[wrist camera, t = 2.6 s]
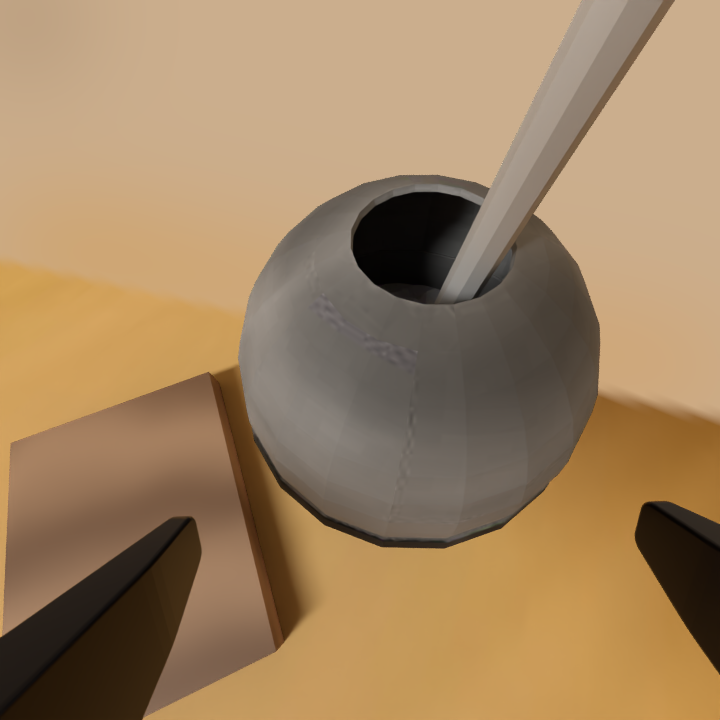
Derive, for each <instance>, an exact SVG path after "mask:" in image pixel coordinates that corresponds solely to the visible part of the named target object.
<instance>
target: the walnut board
mask: <svg viewBox="0 0 720 720" xmlns="http://www.w3.org/2000/svg"><path fill="white" fill-rule="evenodd" d="M175 516H192V517H193V518H194V519H195V521H196V524H197V528H198V533H199V538H200V542H201V547H202V555H201V560H200V564H199V567H198V570H197V573H196V576H195V579H194V583H193V586H192V589H191V592H190V595H189V598H188V601H187V604H186V608H185V611H184V614H183V617H182V620H181V623H180V626H179V630H178V633H177V635H176V638H175V641H174V644H173V647H172V649H171V652H170V654H169V657H168V659H167V662H166V664H165V667H164V669H163V671H162V674H161V676H160V679H159V681H158V683H157V686H156V688H155V690H154V693H153V695H152V698H151V700H150V702H149V705H148V707H147V710H146V712H145V714H144V717H145V716H147V715H149V714H151V713H153V712H155V711H157V710H159V709H161V708H163V707H165V706H167V705H169V704H171V703H173V702H175V701H177V700H179V699H181V698H183V697H185V696H187V695H189V694H191V693H193V692H196V691H198V690H200V689H202V688H204V687H206V686H208V685H210V684H212V683H214V682H216V681H218V680H220V679H222V678H224V677H226V676H228V675H230V674H232V673H234V672H236V671H238V670H240V669H242V668H244V667H246V666H248V665H250V664H252V663H254V662H256V661H258V660H260V659H262V658H264V657H266V656H268V655H270V654H272V653H274V652H276V651H277V650H278V649H279V648H280V646H281V645H282V644H283V643H284V639H283V635H282V631H281V627H280V623H279V619H278V615H277V611H276V607H275V603H274V599H273V595H272V591H271V587H270V583H269V579H268V575H267V571H266V567H265V564H264V560H263V556H262V552H261V548H260V544H259V540H258V536H257V532H256V528H255V524H254V520H253V516H252V512H251V508H250V504H249V500H248V496H247V492H246V488H245V484H244V480H243V476H242V472H241V468H240V464H239V460H238V456H237V452H236V448H235V444H234V440H233V437H232V433H231V429H230V425H229V421H228V417H227V413H226V409H225V405H224V401H223V397H222V393H221V389H220V385H219V382H218V381H217V380H216V379H215V378H214V377H213V376H212V375H211V374H210V373H209V372H207V373H204V374H202V375H199V376H196V377H193V378H190V379H188V380H185V381H182V382H179V383H177V384H174V385H171V386H168V387H165V388H163V389H160V390H157V391H154V392H152V393H149V394H146V395H143V396H140V397H138V398H135V399H132V400H129V401H126V402H124V403H121V404H118V405H115V406H113V407H110V408H107V409H104V410H101V411H99V412H96V413H93V414H90V415H88V416H85V417H82V418H79V419H76V420H74V421H71V422H68V423H65V424H63V425H60V426H57V427H54V428H51V429H49V430H46V431H43V432H40V433H38V434H35V435H32V436H29V437H26V438H24V439H21V440H18V441H15V442H13V443H11V449H10V472H9V495H8V518H7V542H6V565H5V588H4V611H3V634H2V636H3V635H5V634H6V633H7V632H9V631H10V630H12V629H13V628H14V627H16V626H17V625H19V624H20V623H22V622H23V621H24V620H26V619H27V618H29V617H30V616H32V615H33V614H34V613H36V612H37V611H39V610H40V609H42V608H43V607H44V606H46V605H47V604H49V603H50V602H51V601H53V600H54V599H56V598H57V597H59V596H60V595H61V594H63V593H64V592H66V591H67V590H69V589H70V588H71V587H73V586H74V585H76V584H77V583H78V582H80V581H81V580H83V579H84V578H86V577H87V576H88V575H90V574H91V573H93V572H94V571H95V570H97V569H98V568H100V567H101V566H103V565H104V564H105V563H107V562H108V561H110V560H111V559H113V558H114V557H115V556H117V555H118V554H120V553H121V552H122V551H124V550H125V549H127V548H128V547H130V546H131V545H132V544H134V543H135V542H137V541H138V540H140V539H141V538H142V537H144V536H145V535H147V534H148V533H149V532H151V531H152V530H154V529H155V528H157V527H158V526H159V525H161V524H162V523H164V522H165V521H166V520H168V519H170V518H171V517H175Z"/></svg>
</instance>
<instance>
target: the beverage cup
mask: <svg viewBox="0 0 720 720" xmlns="http://www.w3.org/2000/svg"><path fill="white" fill-rule="evenodd" d="M674 1H675V0H582V1H581V3H580V5H579V7H578V9H577V11H576V13H575V15H574V17H573V20H572V22H571V24H570V26H569V28H568V30H567V32H566V34H565V36H564V38H563V40H562V42H561V44H560V46H559V48H558V51H557V52H556V54H555V56H554V58H553V61H552V62H551V65H550V67H549V69H548V71H547V73H546V75H545V77H544V79H543V81H542V83H541V85H540V87H539V89H538V91H537V93H536V95H535V97H534V100H533V101H532V104H531V106H530V108H529V110H528V112H527V114H526V116H525V118H524V120H523V122H522V124H521V126H520V128H519V130H518V132H517V134H516V136H515V138H514V140H513V142H512V145H511V146H510V149H509V151H508V153H507V155H506V157H505V159H504V161H503V163H502V165H501V167H500V169H499V171H498V173H497V175H496V177H495V179H494V181H493V183H492V186H491V188H487V187H485V186H483V185H480V184H478V183H476V182H471V181H466V180H460V179H455V178H450V177H445V176H440V175H399V176H395V177H390V178H386V179H382V180H377V181H373V182H368V183H364V184H361V185H359V186H357V187H355V188H353V189H351V190H349V191H347V192H345V193H343V194H341V195H339V196H337V197H335V198H333V199H331V200H329V201H327V202H325V203H324V204H322V205H320V206H318V207H317V208H316V209H315V210H314V211H313V212H311V213H310V214H309V215H308V216H307V217H306V218H305V219H303V220H302V221H301V222H300V223H299V224H298V225H296V226H295V227H294V228H293V229H292V230H291V231H290V232H289V233H288V234H287V235H286V236H285V237H284V239H282V241H281V242H280V243H279V244H278V246H277V247H276V249H275V250H274V252H273V254H272V255H271V257H270V259H269V260H268V262H267V264H266V265H265V267H264V269H263V270H262V272H261V274H260V275H259V277H258V279H257V280H256V282H255V284H254V287H253V289H252V292H251V294H250V296H249V300H248V305H247V310H246V315H245V320H244V325H243V330H242V335H241V340H240V347H239V356H238V360H239V366H240V372H241V378H242V384H243V390H244V396H245V403H246V409H247V413H248V418H249V422H250V424H251V426H252V431H253V437H254V441H255V443H256V445H257V446H258V448H259V450H260V452H261V454H262V455H263V457H264V459H265V461H266V462H267V464H268V466H269V468H270V470H271V471H272V473H273V475H274V477H275V478H276V480H277V482H278V484H279V485H280V487H281V488H282V489H283V490H284V491H286V492H287V493H288V494H289V495H290V496H291V497H293V498H294V499H295V500H296V501H297V502H298V503H300V504H301V505H302V506H303V507H304V508H305V509H306V510H308V511H309V512H310V513H311V514H312V515H313V516H315V517H316V518H317V519H318V520H319V521H320V522H322V523H323V524H324V525H326V526H328V527H331V528H334V529H336V530H339V531H341V532H344V533H347V534H349V535H352V536H354V537H357V538H360V539H362V540H365V541H367V542H370V543H372V544H375V545H378V546H380V547H398V548H447V547H450V546H453V545H456V544H458V543H461V542H464V541H467V540H470V539H473V538H475V537H478V536H481V535H484V534H487V533H490V532H492V531H495V530H498V529H501V528H502V527H503V526H504V525H506V524H507V523H508V522H509V521H510V520H511V519H512V518H514V517H515V516H516V515H517V514H518V513H519V512H520V511H522V510H523V509H524V508H525V507H526V506H527V505H528V504H530V503H531V502H532V501H533V500H534V499H535V498H536V497H538V496H539V495H540V494H541V493H542V492H543V491H544V490H545V488H546V487H547V485H548V484H549V482H550V481H551V480H552V479H553V478H554V477H556V476H557V475H558V474H559V472H560V471H561V470H562V469H563V467H564V466H565V465H566V464H567V462H568V461H569V459H570V456H571V454H572V452H573V450H574V448H575V446H576V444H577V442H578V440H579V438H580V436H581V434H582V432H583V430H584V428H585V426H586V424H587V422H588V420H589V417H590V415H591V413H592V411H593V408H594V405H595V401H596V398H597V395H598V376H599V356H600V328H599V322H598V319H597V316H596V314H595V311H594V308H593V305H592V302H591V299H590V296H589V293H588V290H587V287H586V284H585V282H584V279H583V276H582V274H581V271H580V269H579V266H578V264H577V263H576V261H575V260H574V259H573V258H572V256H571V255H570V254H569V252H568V251H567V250H566V249H565V247H564V246H563V245H562V243H561V242H560V241H559V240H558V238H557V237H556V236H555V234H554V233H553V232H552V231H551V230H550V228H548V226H547V225H546V224H545V223H544V222H543V221H542V220H541V219H539V218H538V217H537V216H535V215H534V214H533V213H534V212H535V210H536V209H537V207H538V206H539V204H540V203H541V201H542V199H543V198H544V197H545V195H546V194H547V192H548V191H549V189H550V188H551V186H552V184H553V183H554V182H555V180H556V179H557V177H558V175H559V174H560V173H561V171H562V170H563V168H564V167H565V165H566V164H567V162H568V161H569V159H570V157H571V156H572V155H573V153H574V152H575V150H576V149H577V147H578V145H579V144H580V142H581V141H582V139H583V138H584V136H585V135H586V133H587V132H588V130H589V129H590V127H591V126H592V124H593V123H594V121H595V120H596V118H597V117H598V115H599V114H600V112H601V111H602V109H603V108H604V106H605V105H606V103H607V102H608V100H609V99H610V97H611V96H612V94H613V93H614V91H615V90H616V88H617V87H618V85H619V84H620V82H621V81H622V79H623V78H624V76H625V75H626V73H627V72H628V70H629V68H630V67H631V66H632V64H633V63H634V61H635V60H636V58H637V56H638V55H639V53H640V52H641V51H642V49H643V47H644V46H645V44H646V43H647V42H648V40H649V38H650V37H651V35H652V34H653V32H654V31H655V29H656V28H657V26H658V25H659V23H660V22H661V20H662V19H663V17H664V16H665V14H666V13H667V11H668V9H669V8H670V7H671V5H672V4H673V2H674Z"/></svg>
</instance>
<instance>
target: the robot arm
mask: <svg viewBox="0 0 720 720" xmlns="http://www.w3.org/2000/svg"><path fill="white" fill-rule="evenodd" d="M635 541H636V544H637V547H638V549H639V550H640V552H641V554H642V555H643V557H644V559H645V560H646V562H647V563H648V565H649V567H650V568H651V570H652V572H653V573H654V575H655V577H656V578H657V580H658V582H659V583H660V585H661V586H662V588H663V590H664V591H665V593H666V595H667V596H668V598H669V600H670V601H671V603H672V605H673V606H674V608H675V609H676V611H677V613H678V614H679V616H680V618H681V619H682V621H683V622H684V624H685V625H686V627H687V629H688V630H689V632H690V633H691V635H692V636H693V637H694V639H695V640H696V642H697V643H698V645H699V646H700V648H701V649H702V650H703V652H704V653H705V655H706V656H707V657H708V659H709V660H710V662H711V663H712V664H713V666H714V667H715V669H716V670H717V671H718V673H719V674H720V524H718V523H716V522H714V521H711V520H709V519H707V518H705V517H702V516H700V515H698V514H696V513H694V512H691V511H689V510H687V509H685V508H682V507H680V506H678V505H676V504H673V503H671V502H667V501H652V502H646V503H644V504H643V505H642V507H641V511H640V515H639V519H638V523H637V527H636V531H635ZM201 555H202V547H201V542H200V538H199V533H198V528H197V524H196V521H195V519H194V518H193V517H192V516H175V517H171V518H170V519H168V520H166V521H165V522H164V523H162V524H161V525H159V526H158V527H157V528H155V529H154V530H152V531H151V532H149V533H148V534H147V535H145V536H144V537H142V538H141V539H140V540H138V541H137V542H135V543H134V544H132V545H131V546H130V547H128V548H127V549H125V550H124V551H122V552H121V553H120V554H118V555H117V556H115V557H114V558H113V559H111V560H110V561H108V562H107V563H105V564H104V565H103V566H101V567H100V568H98V569H97V570H95V571H94V572H93V573H91V574H90V575H88V576H87V577H86V578H84V579H83V580H81V581H80V582H78V583H77V584H76V585H74V586H73V587H71V588H70V589H69V590H67V591H66V592H64V593H63V594H61V595H60V596H59V597H57V598H56V599H54V600H53V601H51V602H50V603H49V604H47V605H46V606H44V607H43V608H42V609H40V610H39V611H37V612H36V613H34V614H33V615H32V616H30V617H29V618H27V619H26V620H24V621H23V622H22V623H20V624H19V625H17V626H16V627H14V628H13V629H12V630H10V631H9V632H7V633H6V634H5V635H3V636H2V637H0V720H142V719H143V717H144V714H145V712H146V710H147V707H148V705H149V702H150V700H151V698H152V695H153V693H154V690H155V688H156V686H157V683H158V681H159V679H160V676H161V674H162V671H163V669H164V667H165V664H166V662H167V659H168V657H169V654H170V652H171V649H172V647H173V644H174V641H175V638H176V635H177V633H178V630H179V626H180V623H181V620H182V617H183V614H184V611H185V608H186V604H187V601H188V598H189V595H190V592H191V589H192V586H193V583H194V579H195V576H196V573H197V570H198V567H199V564H200V560H201Z"/></svg>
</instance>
